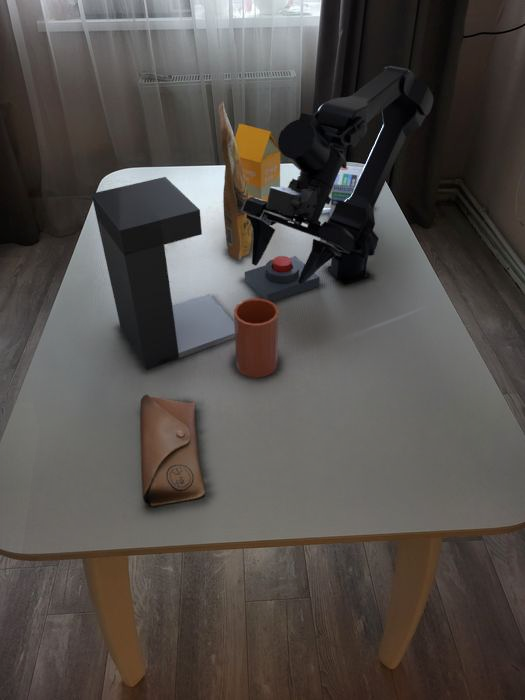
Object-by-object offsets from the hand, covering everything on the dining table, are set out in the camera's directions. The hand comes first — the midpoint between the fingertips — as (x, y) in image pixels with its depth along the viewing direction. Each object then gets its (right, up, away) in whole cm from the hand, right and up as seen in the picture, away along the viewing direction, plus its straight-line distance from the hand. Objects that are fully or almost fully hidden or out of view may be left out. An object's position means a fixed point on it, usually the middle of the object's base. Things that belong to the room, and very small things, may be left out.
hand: (276, 274), depth 90 cm
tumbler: (-3, -15, +3) cm, 15 cm away
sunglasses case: (-15, -27, -10) cm, 33 cm away
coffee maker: (-17, -9, +10) cm, 22 cm away
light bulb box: (+17, +19, +42) cm, 49 cm away
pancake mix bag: (-8, +12, +34) cm, 37 cm away
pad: (+2, +1, +21) cm, 21 cm away
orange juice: (-4, +21, +45) cm, 50 cm away
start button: (+2, +4, +19) cm, 19 cm away
